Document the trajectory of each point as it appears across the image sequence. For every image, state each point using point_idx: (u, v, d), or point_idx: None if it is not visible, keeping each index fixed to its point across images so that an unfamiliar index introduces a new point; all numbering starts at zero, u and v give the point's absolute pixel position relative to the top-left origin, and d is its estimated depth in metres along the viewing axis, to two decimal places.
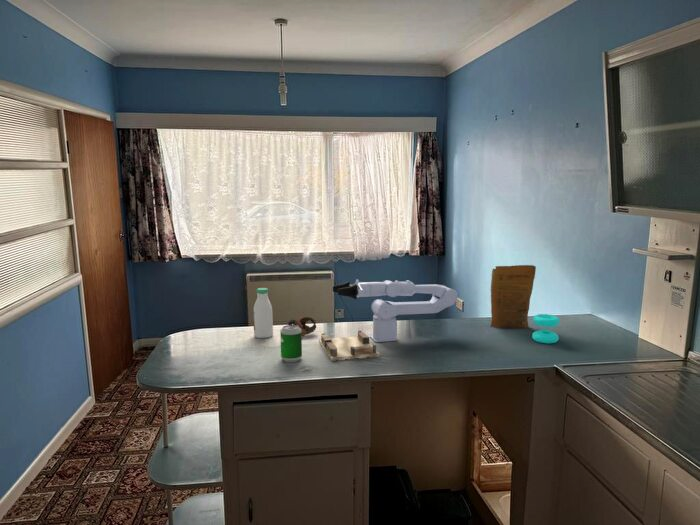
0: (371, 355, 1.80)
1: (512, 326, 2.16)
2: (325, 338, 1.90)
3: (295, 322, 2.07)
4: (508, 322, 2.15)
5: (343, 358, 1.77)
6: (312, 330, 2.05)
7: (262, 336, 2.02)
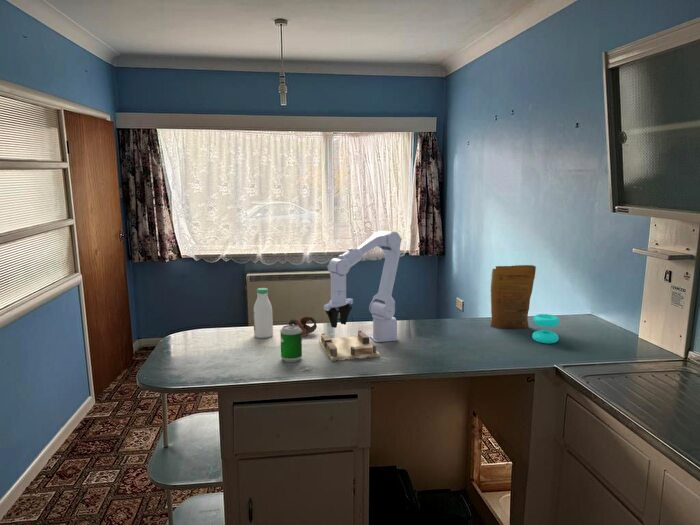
0: (371, 355, 1.80)
1: (512, 326, 2.16)
2: (325, 338, 1.90)
3: (296, 322, 2.07)
4: (508, 322, 2.15)
5: (343, 358, 1.77)
6: (313, 330, 2.06)
7: (262, 336, 2.02)
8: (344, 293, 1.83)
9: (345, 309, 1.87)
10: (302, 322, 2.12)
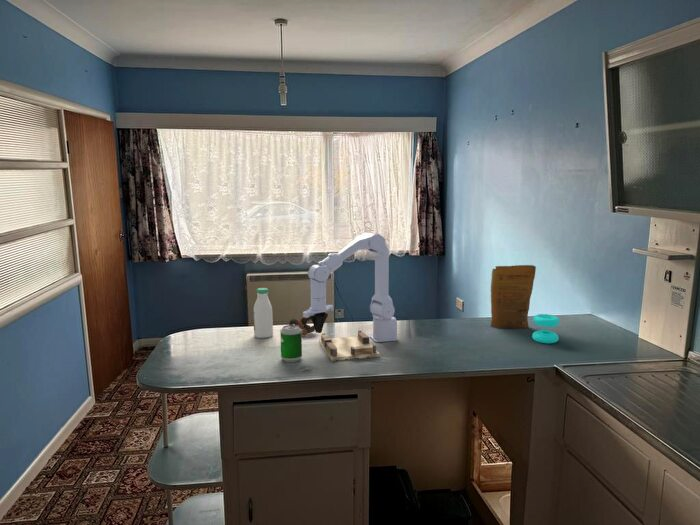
0: (371, 355, 1.80)
1: (512, 326, 2.16)
2: (325, 338, 1.90)
3: (296, 322, 2.08)
4: (508, 322, 2.15)
5: (343, 358, 1.77)
6: (313, 329, 2.06)
7: (262, 336, 2.02)
8: (324, 300, 1.83)
9: None
10: (302, 322, 2.12)
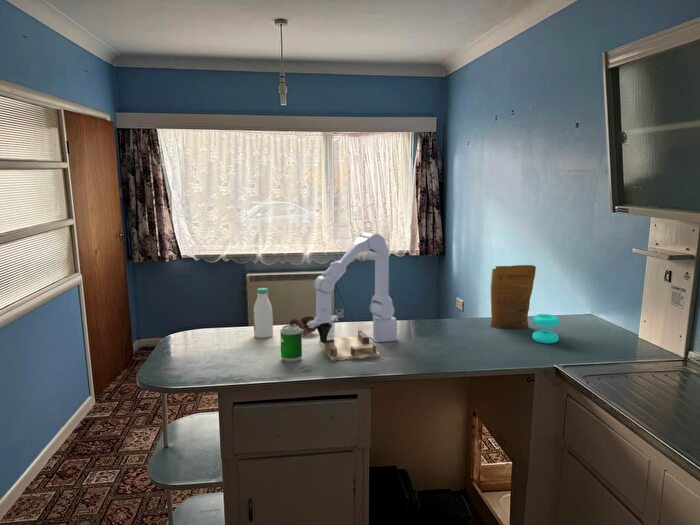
0: (371, 355, 1.80)
1: (512, 326, 2.16)
2: (327, 338, 1.90)
3: (296, 321, 2.08)
4: (508, 322, 2.15)
5: (343, 358, 1.77)
6: (313, 329, 2.06)
7: (262, 336, 2.02)
8: (329, 310, 1.86)
9: None
10: (303, 322, 2.13)
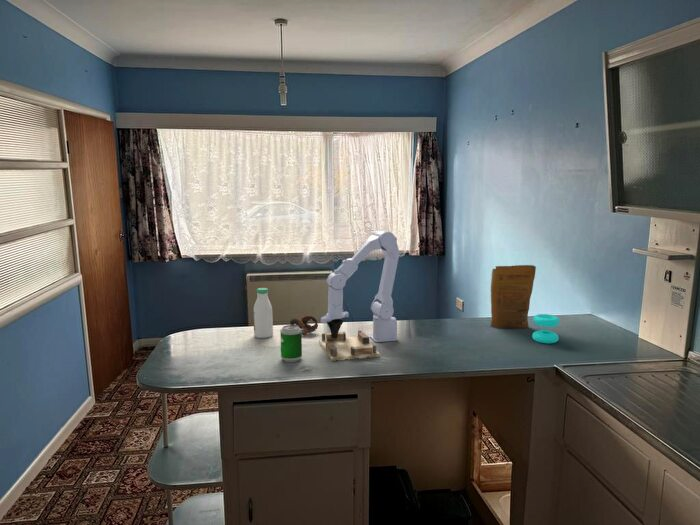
0: (371, 355, 1.80)
1: (512, 326, 2.16)
2: (338, 333, 1.96)
3: (297, 321, 2.08)
4: (508, 322, 2.15)
5: (343, 358, 1.77)
6: (314, 329, 2.07)
7: (262, 336, 2.02)
8: (341, 307, 1.91)
9: None
10: (303, 321, 2.13)
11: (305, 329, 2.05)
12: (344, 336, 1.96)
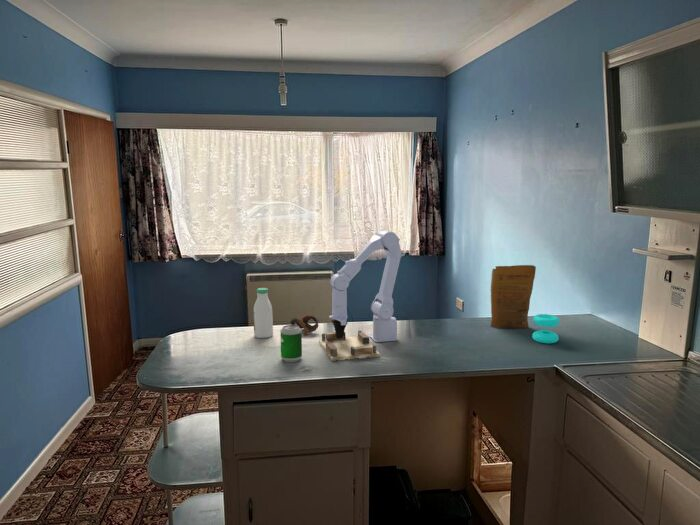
0: (371, 355, 1.80)
1: (512, 326, 2.16)
2: None
3: (297, 321, 2.09)
4: (508, 322, 2.15)
5: (343, 358, 1.77)
6: (315, 328, 2.07)
7: (262, 336, 2.02)
8: None
9: None
10: (304, 321, 2.13)
11: (306, 329, 2.06)
12: (344, 335, 1.97)
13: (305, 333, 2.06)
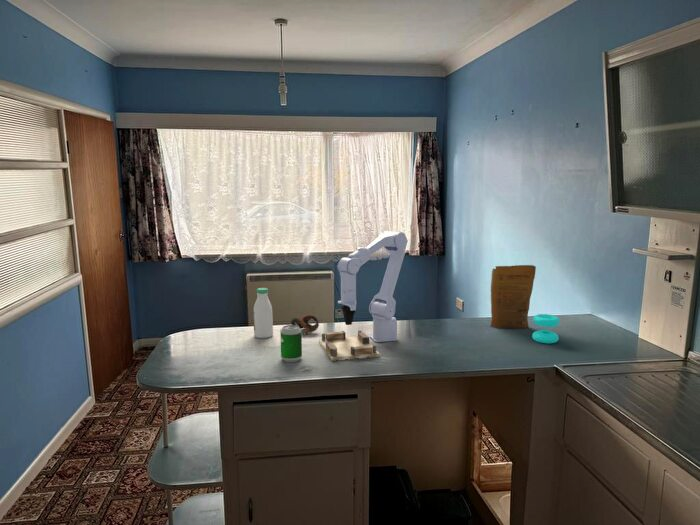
0: (371, 355, 1.80)
1: (512, 326, 2.16)
2: (338, 332, 1.97)
3: (298, 320, 2.09)
4: (508, 322, 2.15)
5: (343, 358, 1.77)
6: (315, 328, 2.08)
7: (262, 336, 2.02)
8: None
9: None
10: (304, 321, 2.14)
11: (306, 328, 2.06)
12: (344, 335, 1.97)
13: (306, 333, 2.06)
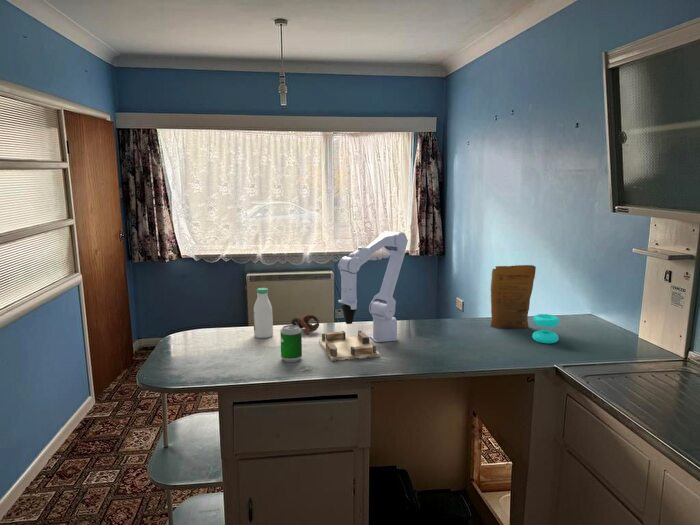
0: (371, 355, 1.80)
1: (512, 326, 2.16)
2: (338, 332, 1.97)
3: (298, 320, 2.10)
4: (508, 322, 2.15)
5: (343, 358, 1.77)
6: (315, 328, 2.08)
7: (262, 336, 2.02)
8: None
9: None
10: (304, 320, 2.14)
11: (307, 328, 2.07)
12: (344, 335, 1.97)
13: (306, 332, 2.07)
